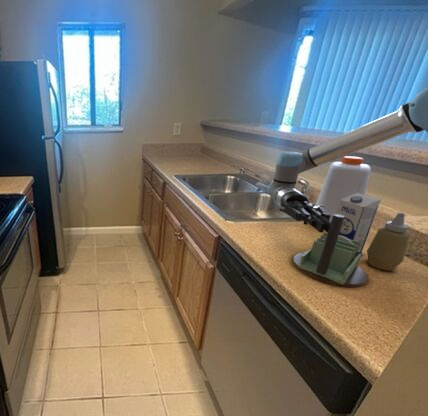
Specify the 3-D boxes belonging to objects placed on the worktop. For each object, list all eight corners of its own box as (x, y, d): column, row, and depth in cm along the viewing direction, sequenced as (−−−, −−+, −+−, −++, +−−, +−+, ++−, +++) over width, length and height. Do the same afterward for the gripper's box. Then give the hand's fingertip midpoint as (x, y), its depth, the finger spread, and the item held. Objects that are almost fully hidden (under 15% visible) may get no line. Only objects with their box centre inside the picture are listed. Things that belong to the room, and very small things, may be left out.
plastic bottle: (308, 224, 116) (326, 158, 106) (313, 213, 126) (329, 152, 116) (355, 234, 107) (380, 163, 96) (356, 221, 117) (379, 156, 107)
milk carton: (361, 254, 93) (382, 198, 85) (346, 257, 91) (365, 200, 84) (340, 244, 99) (357, 192, 92) (325, 247, 98) (341, 194, 90)
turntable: (364, 265, 86) (365, 263, 86) (369, 295, 73) (370, 292, 73) (295, 248, 97) (296, 246, 97) (289, 272, 84) (290, 269, 84)
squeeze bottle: (403, 276, 81) (427, 220, 75) (367, 268, 85) (387, 215, 78) (393, 262, 88) (415, 210, 81) (360, 256, 91) (378, 206, 85)
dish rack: (316, 250, 93) (331, 198, 87) (358, 264, 85) (379, 207, 78) (297, 268, 84) (313, 210, 77) (342, 285, 76) (364, 223, 69)
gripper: (312, 211, 98) (352, 242, 77) (267, 209, 101) (294, 238, 80) (317, 192, 95) (360, 218, 74) (272, 190, 99) (301, 214, 77)
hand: (326, 228), depth 77 cm, fingers closed
